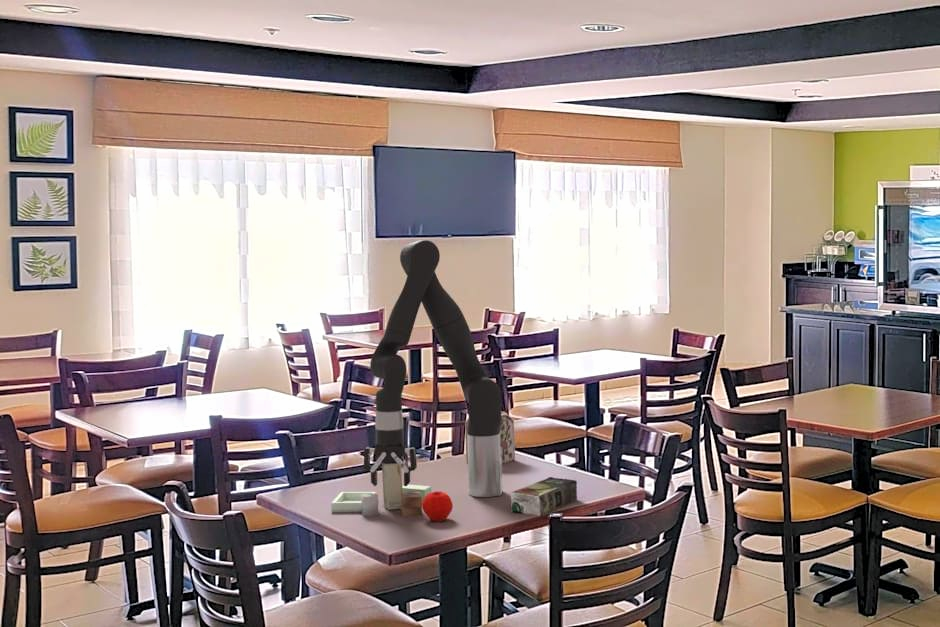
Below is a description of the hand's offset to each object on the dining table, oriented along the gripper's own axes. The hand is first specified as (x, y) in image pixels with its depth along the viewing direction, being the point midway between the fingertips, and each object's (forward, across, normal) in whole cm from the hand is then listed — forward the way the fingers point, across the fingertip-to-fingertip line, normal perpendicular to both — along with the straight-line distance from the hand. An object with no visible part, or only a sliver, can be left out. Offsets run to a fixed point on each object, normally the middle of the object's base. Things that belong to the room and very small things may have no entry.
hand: (390, 485), depth 288 cm
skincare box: (+6, -1, 0) cm, 6 cm away
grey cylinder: (+6, +4, +7) cm, 10 cm away
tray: (+6, +10, -1) cm, 12 cm away
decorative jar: (+6, -22, -56) cm, 60 cm away
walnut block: (+6, -7, +6) cm, 11 cm away
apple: (+6, -15, +13) cm, 21 cm away
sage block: (+6, -6, -7) cm, 11 cm away
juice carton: (+6, -42, -1) cm, 42 cm away
